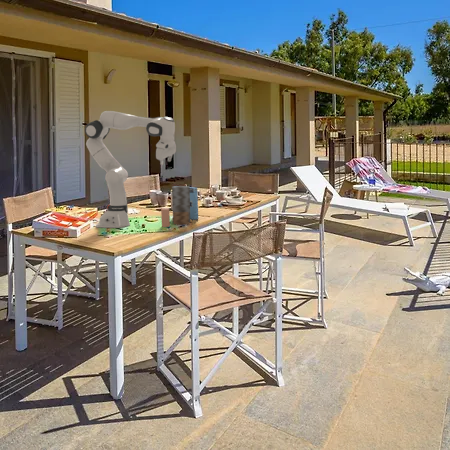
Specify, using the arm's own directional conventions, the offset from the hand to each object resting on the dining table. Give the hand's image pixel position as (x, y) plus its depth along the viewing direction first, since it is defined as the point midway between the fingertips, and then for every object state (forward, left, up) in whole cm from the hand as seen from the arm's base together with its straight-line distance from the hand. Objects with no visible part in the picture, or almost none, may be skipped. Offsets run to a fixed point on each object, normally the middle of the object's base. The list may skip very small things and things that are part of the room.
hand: (165, 162), depth 331 cm
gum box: (+11, +29, -42) cm, 52 cm away
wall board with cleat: (+9, +8, -42) cm, 44 cm away
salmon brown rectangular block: (-1, -1, -42) cm, 42 cm away
